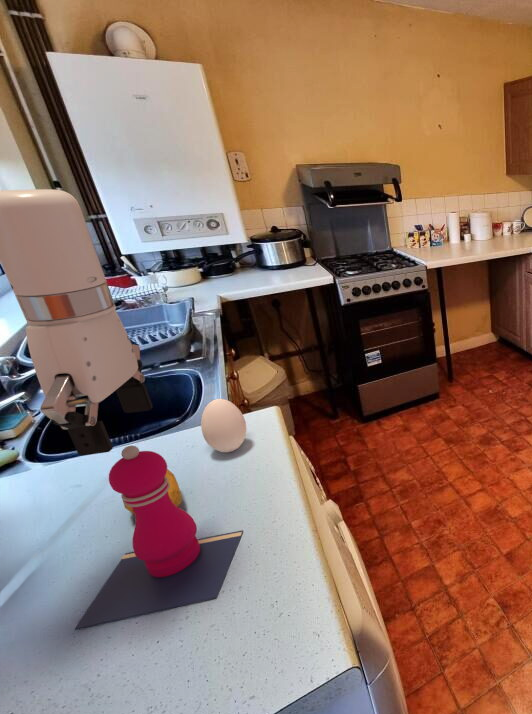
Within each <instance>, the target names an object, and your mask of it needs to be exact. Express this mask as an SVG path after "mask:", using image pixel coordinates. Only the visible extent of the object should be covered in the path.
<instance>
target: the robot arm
mask: <svg viewBox="0 0 532 714" xmlns="http://www.w3.org/2000/svg"><path fill="white" fill-rule="evenodd" d="M94 245H95V244H94V242H93V240H92V236H91V234H90V231H89V228H88V226H87V223H86V219H85V217H84V214H83V210H82V209H81V206H80V204H79V202H78V200H77V199H76V198H75V197H74V196H73V195H72V194H71V193H69V192H67V191H64V190H61V189H53V188H52V189H50V188H43V189H42V188H41V189H39V188H32V189H5V190H3V189H0V264H1V266H2V269H3V271H4V273H5V276H6V278H7V280H8V283H9V284H10V288H11V290H12V291H13V294H14V296H15V298H16V301H17V303H18V305H19V307H20V310H21V312H22V314H23V317H24V319H25V322H26V323H27V326H26V327H25V334H26V335H25V336H26V341H27V347H28V352H29V355H30V359H31V362H32V365H33V368H34V372H35V374H36V377H37V380H38V383H39V385H40V389H41V391H42V393H43V395H44V399H43V401H42V403H41V405H40V408H39V410H40V412H41V413H42V414H43V415H44V416H46V417H47V418H48V419H50V421H51V422H52V423H53V425H55V426H58V427H59V426H60V428H61V429H62V430H67V432H68V434H69V437H70V439H71V441H72V443H73V446H74V448H75V450H76V452H77V454H78V455H79V456H89V455H90V456H91V455H98V454H104V453H105V454H106V453H109V452H111V451H112V450H113V448H114V446H113V443H112V441H111V438H110V437H109V434H108V432H107V429H106V426H105V424H104V422H103V420H98V415H99V414H98V413H99V412H98V411H99V404H100V403H101V402H103V401H104V400H105V399H106V398H108V397H109V396H111V394H113V393H114V392H116V395H117V397H118V400H119V402H120V406H121V408H122V410H123V412H124V413H125V414H131V413H132V414H133V413H139V412H148V411H151V410H152V409H153V408H154V407H153V403H152V401H151V398H150V395H149V392H148V390H147V386H146V383H145V380H146V378H145V374H144V373H142V371H143V370H142V369H143V366H144V364H143V361H142V360H141V348H140V346H139V345H138V344H133V343H132V342H131V339H130V337H129V334H128V332H127V330H126V328H125V326H124V324H123V322H122V320H121V317H120V316H119V314H118V312H117V311H116V310H117V307H116V304H115V301H114V298H113V296H112V292H111V289H110V287H109V284H108V281H107V278H106V276H105V273H104V270H103V267H102V264H101V262H100V259H99V255H98V254H97V251H96V248H95V246H94ZM85 396H86V397H85ZM77 397H83V398H77ZM84 397H85V398H84ZM78 407H85V408H84V414H83V413H80V412H77V411H76V410H77V408H78Z"/></svg>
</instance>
